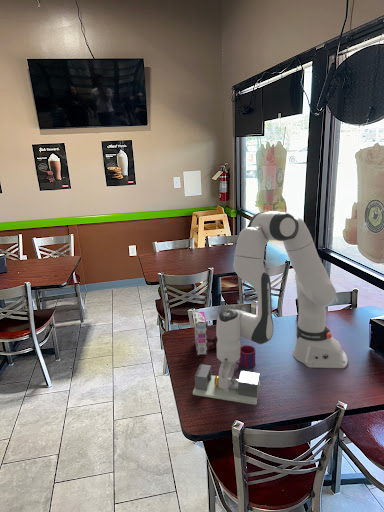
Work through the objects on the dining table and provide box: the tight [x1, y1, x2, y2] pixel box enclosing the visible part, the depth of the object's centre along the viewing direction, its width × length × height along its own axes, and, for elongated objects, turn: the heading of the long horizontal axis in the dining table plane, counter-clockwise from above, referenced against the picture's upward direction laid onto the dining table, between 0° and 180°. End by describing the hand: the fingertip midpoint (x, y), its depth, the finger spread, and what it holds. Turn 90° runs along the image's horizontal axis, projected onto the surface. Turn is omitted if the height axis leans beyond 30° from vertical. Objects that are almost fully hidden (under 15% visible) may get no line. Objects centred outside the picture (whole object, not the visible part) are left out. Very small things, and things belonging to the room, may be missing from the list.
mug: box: [236, 344, 256, 369], centre depth 152 cm, size 7×10×7 cm
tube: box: [214, 375, 239, 390], centre depth 136 cm, size 15×4×4 cm, turn 74°
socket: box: [194, 363, 212, 391], centre depth 139 cm, size 4×8×6 cm, turn 164°
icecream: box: [207, 334, 218, 351], centre depth 167 cm, size 7×7×15 cm
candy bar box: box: [193, 311, 208, 356], centre depth 164 cm, size 11×5×16 cm, turn 4°
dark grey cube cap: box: [238, 370, 260, 399], centre depth 134 cm, size 7×7×6 cm
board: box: [192, 374, 261, 406], centre depth 138 cm, size 24×12×1 cm, turn 74°
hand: (228, 383), depth 137 cm, fingers open, 7 cm apart
